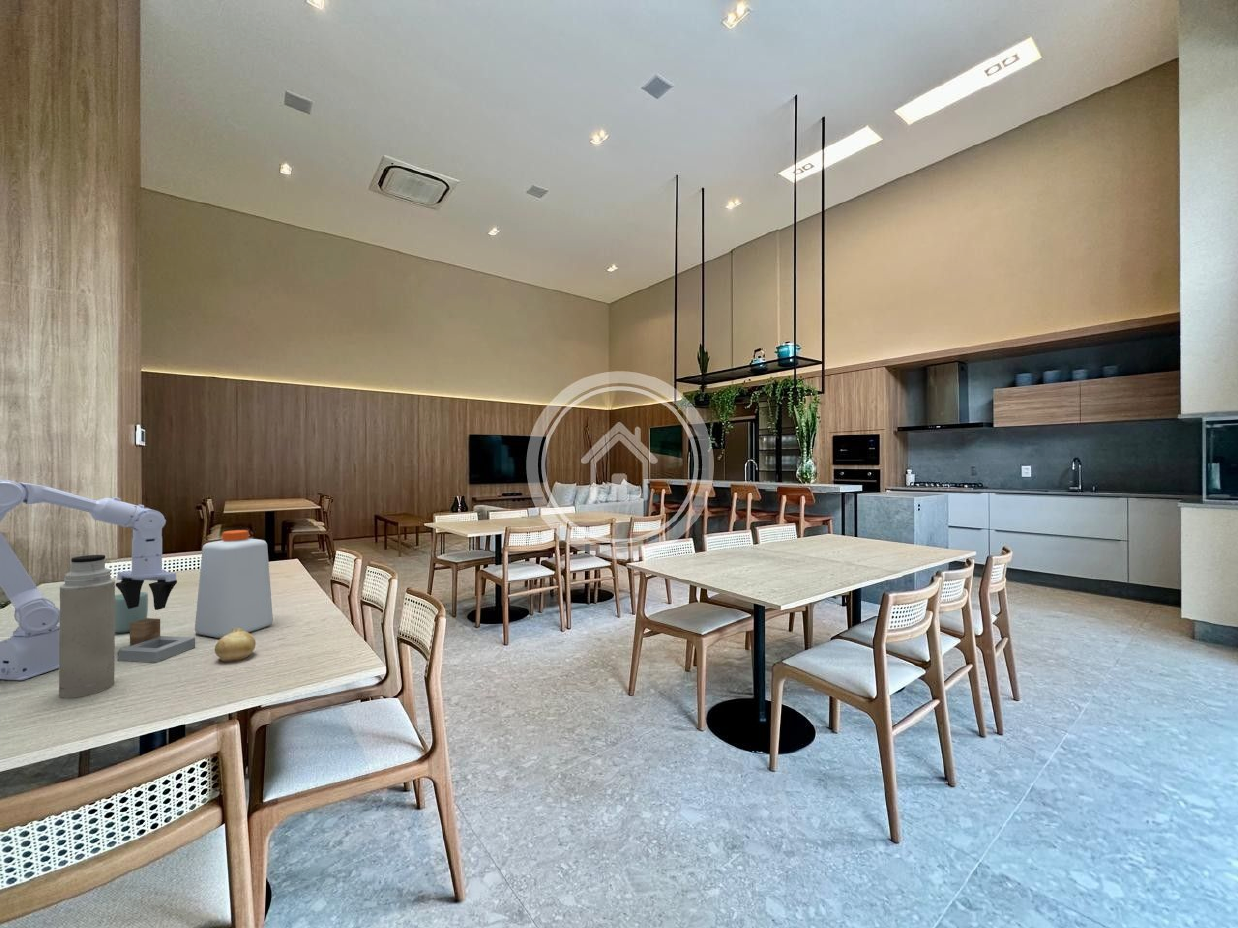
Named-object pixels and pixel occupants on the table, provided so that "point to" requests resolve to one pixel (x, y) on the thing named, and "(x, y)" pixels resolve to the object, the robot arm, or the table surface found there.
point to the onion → (235, 645)
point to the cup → (129, 612)
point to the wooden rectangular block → (144, 630)
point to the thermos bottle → (86, 628)
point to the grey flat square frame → (156, 649)
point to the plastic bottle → (233, 586)
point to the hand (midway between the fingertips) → (146, 608)
